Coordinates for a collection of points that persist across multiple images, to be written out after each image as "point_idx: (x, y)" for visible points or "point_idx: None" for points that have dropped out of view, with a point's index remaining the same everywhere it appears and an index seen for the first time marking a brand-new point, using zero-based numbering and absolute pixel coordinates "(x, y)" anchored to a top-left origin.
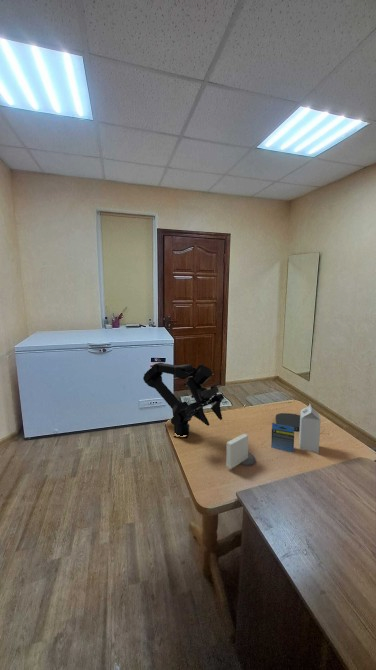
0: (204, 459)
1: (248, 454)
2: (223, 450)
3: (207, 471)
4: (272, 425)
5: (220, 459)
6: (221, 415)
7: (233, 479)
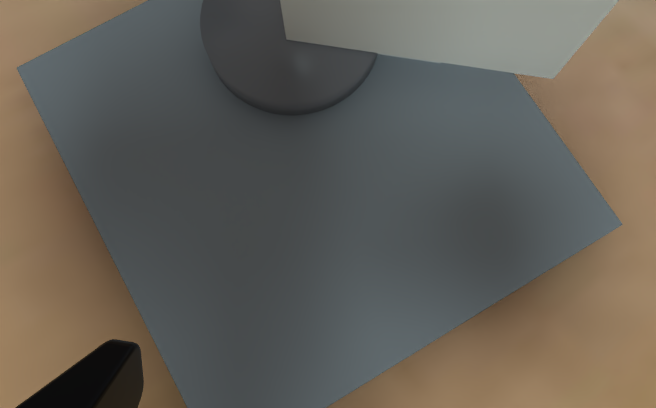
0: (523, 390)
1: (231, 19)
2: None
3: (646, 245)
4: None
5: None
6: (38, 398)
7: None
